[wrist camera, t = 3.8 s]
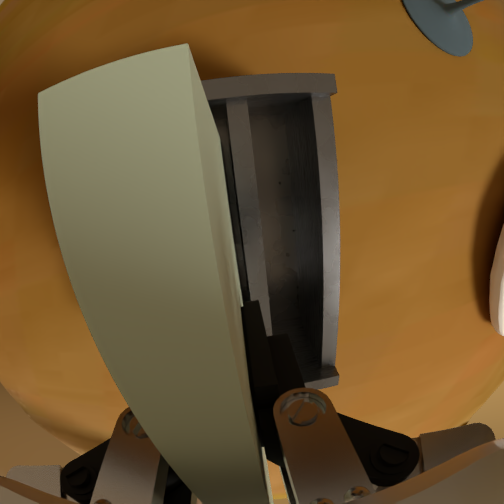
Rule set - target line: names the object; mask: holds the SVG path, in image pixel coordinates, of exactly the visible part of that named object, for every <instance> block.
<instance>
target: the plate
mask: <svg viewBox="0 0 504 504" xmlns="http://www.w3.org/2000/svg"><path fill="white" fill-rule="evenodd" d="M489 303H490V317H491V323H492V326H493V327H494V329H495V330H496V332H497V333H498V334H500V335H503V336H504V225H503V227H502V231H501V234H500V238H499V241H498V244H497V247H496V252H495V257H494V261H493V265H492V270H491V274H490V296H489Z"/></svg>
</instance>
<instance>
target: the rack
mask: <svg viewBox="0 0 504 504" xmlns="http://www.w3.org/2000/svg"><path fill="white" fill-rule="evenodd" d="M201 83H202V86H203V89H204V92H205V95H206V98H207V101H208V104H209V107H210V110H211V113H212V116H213V119H214V122H215V125H216V128H217V131H218V133H219V136H220V139H221V142H222V150H223V157H224V165H225V173H226V181H227V188H228V196H229V203H230V211H231V218H232V225H233V232H234V240H235V247H236V254H237V261H238V268H239V275H240V282H241V288H242V295H243V302H247V301H254V300H259V304H260V308H261V312H262V317H263V321H264V326H265V330H266V334H267V336H272V335H278V334H284V333H287V334H288V337H289V339H290V342H291V345H292V348H293V351H294V354H295V357H296V360H297V363H298V366H299V369H300V372H301V375H302V378H303V381H304V384H305V387H306V388H313V389H316V390H318V389H323V388H327V387H331V386H335V385H338V381H339V374H338V372H337V370H336V368H335V358H336V346H337V332H338V315H339V290H340V215H339V190H338V173H337V159H336V146H335V136H334V126H333V117H332V108H331V100H330V96H332V95H334V94H336V93H337V88H336V81H335V74H324V73H278V74H259V75H246V76H235V77H226V78H218V79H210V80H203V81H201Z"/></svg>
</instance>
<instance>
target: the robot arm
mask: <svg viewBox="0 0 504 504" xmlns="http://www.w3.org/2000/svg"><path fill="white" fill-rule="evenodd" d="M241 316H242V325H243V333H244V342H245V351H246V360H247V368H248V376H249V384H250V391H251V396H252V402H253V407H254V412H255V417H256V422H257V427H258V432H259V437H260V442H261V447H264V449H265V454H266V459H267V460H269V461H271V462H273V463H275V464H277V465H278V466H279V468H280V472H281V476H282V479H283V483H284V487H285V490H286V494H287V498H288V501H289V504H504V438H502V439H498V440H496V439H495V436H494V433H493V431H492V430H491V428H490V427H488V426H487V425H485V424H482V423H473V424H469V425H465V426H461V427H456V428H451V429H447V430H442V431H436V432H430V433H424V434H420V435H419V437H417V438H410V437H408V436H406V435H404V434H401V433H397V432H394V431H390V430H387V429H384V428H381V427H377V426H374V425H371V424H368V423H365V422H362V421H359V420H356V419H353V418H351V417H348V416H345V415H342V414H340V413H337V412H336V410H335V408H334V406H333V404H332V402H331V400H330V399H329V398H328V396H327V395H326V394H324V393H323V392H321V391H319V390H316V389H313V388H306V387H305V384H304V381H303V378H302V375H301V372H300V369H299V366H298V363H297V360H296V357H295V354H294V351H293V348H292V345H291V342H290V339H289V337H288V334H287V333H284V334H278V335H272V336H267V334H266V330H265V326H264V321H263V317H262V312H261V308H260V304H259V300H254V301H247V302H243V306H241ZM0 504H203V503H202V502H201V501H200V500H199V499H198V498H197V497H196V496H195V495H194V494H193V492H192V491H191V490H190V489H189V488H188V487H187V486H186V484H185V483H184V482H183V481H182V480H181V479H180V477H179V476H178V475H177V474H176V472H175V471H174V470H173V469H172V468H171V466H170V465H169V464H168V462H167V461H166V460H165V459H164V457H163V456H162V455H161V453H160V452H159V450H158V449H157V448H156V446H155V445H154V444H153V442H152V441H151V439H150V438H149V436H148V435H147V434H146V432H145V431H144V429H143V428H142V426H141V425H140V423H139V422H138V420H137V418H136V417H135V415H134V414H133V412H132V410H131V409H130V407H128V408H127V409H125V410H124V411H123V412H122V413H121V414H120V416H119V418H118V420H117V422H116V425H115V428H114V431H113V433H112V436H111V438H110V439H108V440H107V441H105V442H103V443H102V444H100V445H98V446H97V447H95V448H93V449H92V450H90V451H88V452H86V453H85V454H83V455H81V456H80V457H78V458H76V459H74V460H72V461H71V462H69V463H68V464H67V465H66V466H65V467H64V468H62V467H61V466H60V465H53V466H15V467H13V468H11V469H10V470H9V472H8V473H7V476H6V477H3V476H0Z"/></svg>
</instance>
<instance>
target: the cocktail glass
mask: <svg viewBox="0 0 504 504" xmlns="http://www.w3.org/2000/svg"><path fill="white" fill-rule="evenodd" d="M402 1H403V4H404V6H405V8H406V10H407V12H408V14H409V15H410V17H411V18H412V20H413V21H414V23H415V24H416V26H417V27H418V28H419V29H420V31H421V32H422V33H423V34H424V35H425V36H426V37H427V38H428V39H429V40H430V41H431V42H432V43H434V44H435V45H436V46H437V47H439V48H440V49H441V50H443V51H445V52H447V53H449V54H451V55H454V56H465V55H467V54H468V53H469V52H470V51H471V49H472V45H473V36H472V31H471V27H470V25H469V22H468V20H467V18H466V16H465V14H464V12H463V11H462V9H464V8H466V7H468V6H470V5H473V4H475V3H478V2H480V1H483V0H462V1H458V2H456V1H455V0H402Z"/></svg>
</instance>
